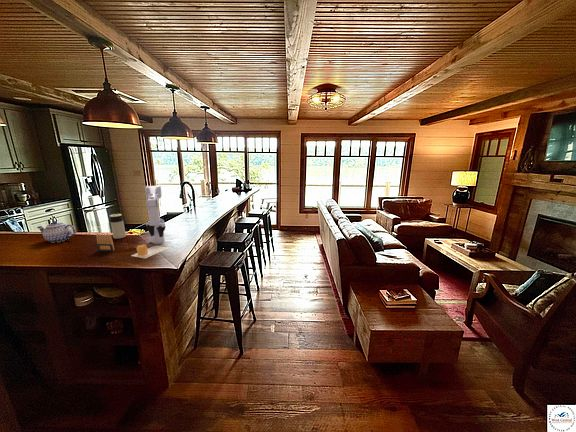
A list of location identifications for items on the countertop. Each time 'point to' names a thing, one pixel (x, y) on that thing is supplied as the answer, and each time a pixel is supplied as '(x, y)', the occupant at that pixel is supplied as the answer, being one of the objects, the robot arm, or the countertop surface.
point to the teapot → (57, 232)
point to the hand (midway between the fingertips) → (156, 236)
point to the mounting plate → (151, 251)
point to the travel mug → (117, 226)
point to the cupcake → (142, 249)
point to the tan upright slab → (105, 243)
